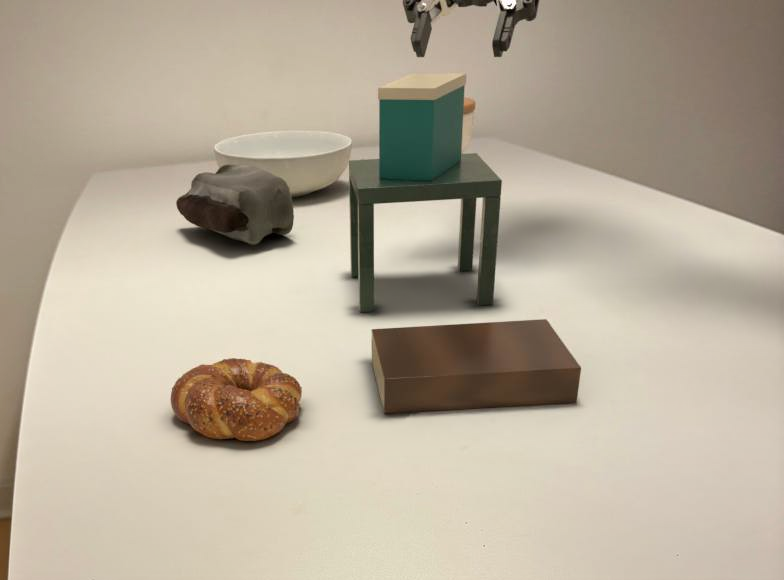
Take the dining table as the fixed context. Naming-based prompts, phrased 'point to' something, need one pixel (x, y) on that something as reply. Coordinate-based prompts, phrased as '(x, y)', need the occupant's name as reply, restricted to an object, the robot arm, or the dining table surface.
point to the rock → (239, 203)
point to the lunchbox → (420, 125)
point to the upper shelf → (455, 183)
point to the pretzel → (236, 399)
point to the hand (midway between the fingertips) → (457, 51)
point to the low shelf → (473, 366)
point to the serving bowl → (290, 156)
